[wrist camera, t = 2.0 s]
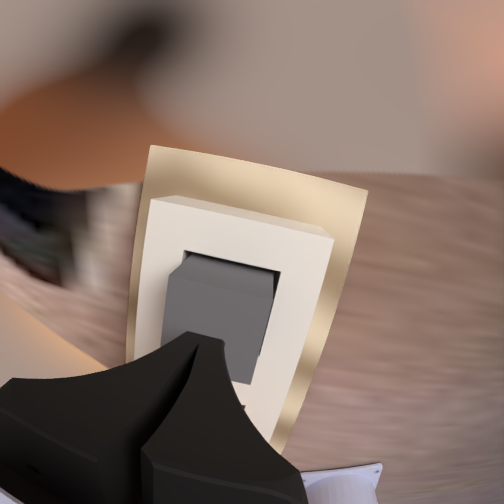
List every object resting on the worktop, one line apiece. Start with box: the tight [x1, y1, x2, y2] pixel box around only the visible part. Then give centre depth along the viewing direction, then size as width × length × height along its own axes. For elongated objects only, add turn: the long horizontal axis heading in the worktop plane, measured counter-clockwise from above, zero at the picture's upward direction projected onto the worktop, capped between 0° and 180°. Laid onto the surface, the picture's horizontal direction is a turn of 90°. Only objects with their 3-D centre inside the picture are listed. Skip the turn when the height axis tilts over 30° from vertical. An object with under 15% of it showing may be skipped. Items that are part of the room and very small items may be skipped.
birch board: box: [126, 145, 368, 455], centre depth 20 cm, size 22×13×1 cm, turn 168°
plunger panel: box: [134, 195, 334, 443], centre depth 18 cm, size 17×9×4 cm, turn 168°
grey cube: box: [160, 253, 273, 385], centre depth 14 cm, size 4×4×4 cm
